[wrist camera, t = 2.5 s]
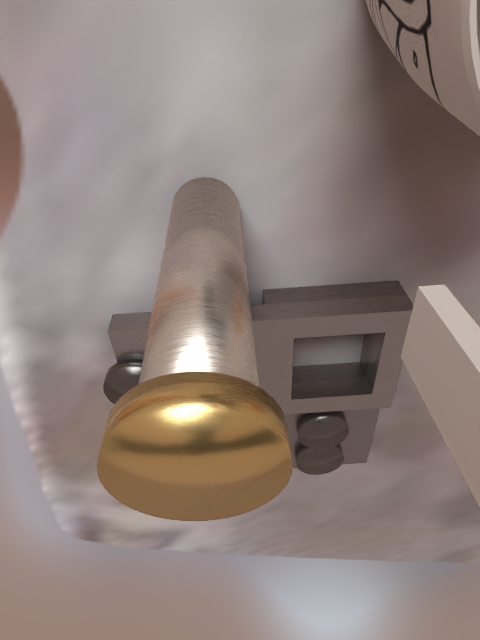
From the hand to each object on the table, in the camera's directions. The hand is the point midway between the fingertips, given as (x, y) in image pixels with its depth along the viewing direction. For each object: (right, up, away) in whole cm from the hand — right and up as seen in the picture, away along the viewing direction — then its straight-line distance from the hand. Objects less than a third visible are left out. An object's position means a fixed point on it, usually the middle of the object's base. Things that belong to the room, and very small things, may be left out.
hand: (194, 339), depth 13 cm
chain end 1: (+2, -1, +10) cm, 11 cm away
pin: (0, +5, +6) cm, 8 cm away
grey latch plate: (+6, -3, +14) cm, 16 cm away
